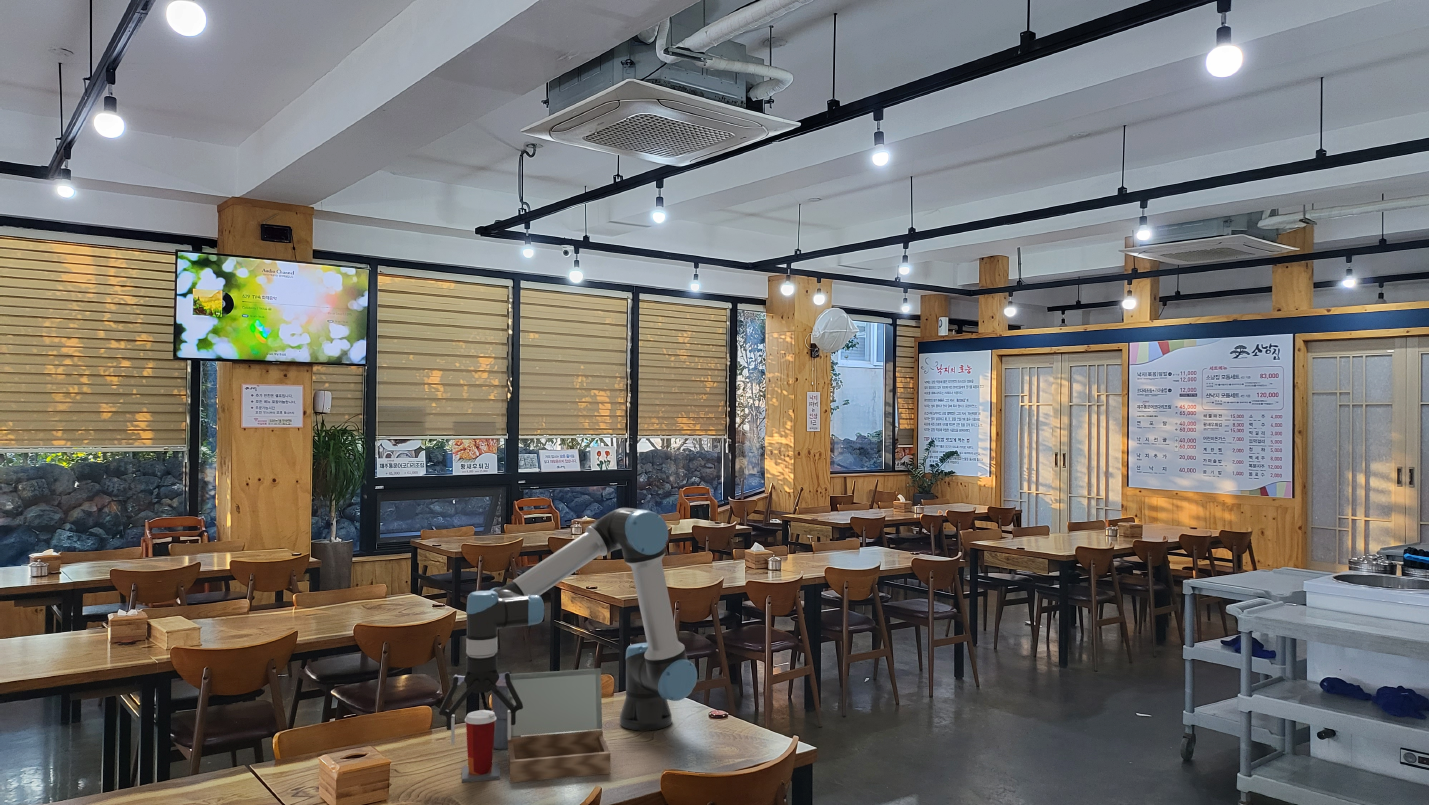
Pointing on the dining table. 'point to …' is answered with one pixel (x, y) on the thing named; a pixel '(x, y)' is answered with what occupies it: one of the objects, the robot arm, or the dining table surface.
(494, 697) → the moka pot
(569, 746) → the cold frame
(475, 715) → the paper cup
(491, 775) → the plate
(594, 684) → the lid
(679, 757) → the dining table surface
